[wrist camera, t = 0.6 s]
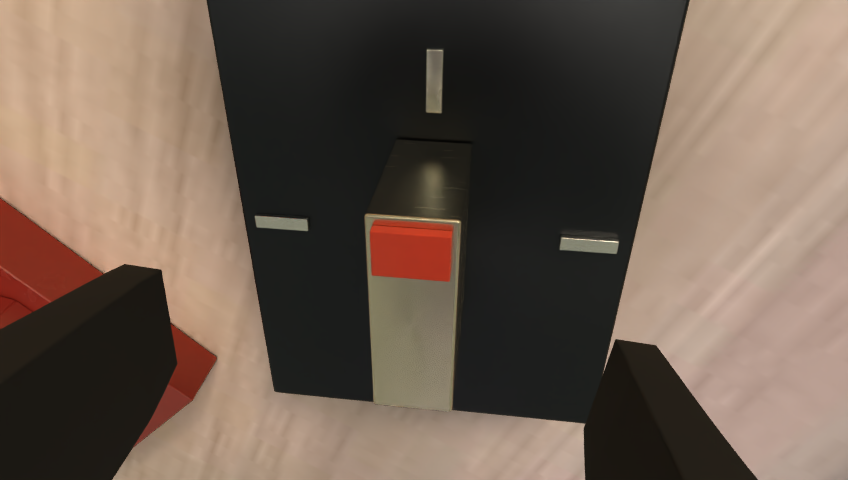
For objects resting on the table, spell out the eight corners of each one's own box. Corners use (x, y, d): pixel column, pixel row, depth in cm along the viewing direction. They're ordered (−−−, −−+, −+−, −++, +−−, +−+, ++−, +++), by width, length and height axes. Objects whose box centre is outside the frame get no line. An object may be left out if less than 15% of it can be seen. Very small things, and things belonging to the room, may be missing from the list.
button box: (218, 357, 23) (168, 442, 20) (107, 449, 27) (49, 532, 24) (-52, 159, 20) (-168, 221, 16) (-134, 297, 24) (-240, 369, 20)
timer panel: (582, 356, 21) (592, 429, 18) (301, 331, 22) (271, 396, 19) (666, -61, 14) (703, -43, 11) (248, -72, 15) (191, -57, 12)
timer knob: (462, 312, 17) (451, 421, 13) (398, 306, 17) (370, 413, 14) (472, 142, 14) (460, 228, 11) (395, 138, 14) (360, 221, 11)
